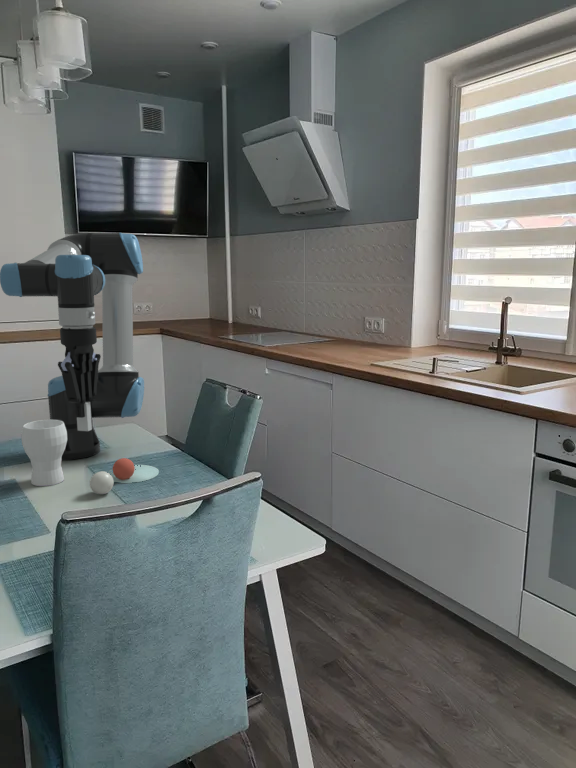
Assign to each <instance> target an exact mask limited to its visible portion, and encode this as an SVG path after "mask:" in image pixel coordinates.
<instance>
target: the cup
mask: <svg viewBox="0 0 576 768" xmlns="http://www.w3.org/2000/svg"><path fill="white" fill-rule="evenodd" d="M21 430H22V431H21V434H20V437H21V445H22V447H23V450H24V452H25V454H26V455H27V457H28V459H29V460H30V464H31V468H32V471H31V481H30V482H31V485H33V486H37V487H46V486H47V487H49V486H54V485H57V484H60V483H61V482H63V481H65V476H64V472H63V468H62V460H61V459H62V455H63V452H64V450H65V447H66V443H67V431H66V428H65V425H64V422H63V421H60V420H50V419H40V420H33V421H31V422H30V421H29V422H27V423H25V424H23V426H22V429H21Z"/></svg>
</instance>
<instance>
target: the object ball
mask: <svg viewBox="0 0 576 768" xmlns="http://www.w3.org/2000/svg"><path fill="white" fill-rule="evenodd" d="M134 465H135V463H134V462H133V461H132V460H131V459H129V458H125V457H121V458H119V459H117V460H116V461H115V462H114V463H113V465H112V469H113V474H114V475H115V477H117V478H118V479H121V480H125V479H128V478H130V477H131V476H132V475H133V473H134V470H135V467H134Z"/></svg>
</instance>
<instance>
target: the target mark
mask: <svg viewBox="0 0 576 768" xmlns="http://www.w3.org/2000/svg"><path fill="white" fill-rule="evenodd" d="M134 465H135V466H134V467H135V469H136V470H134V473H133V475H132V476H131V477H130V478H128V479H125V480H121V479H118V478H117V477H115V475H114V474H113V473H112V472H110V471H112V470H113V468H111V469H109V470H108V471H109V472H110V473H109V472H108V471H107V472H108V473H109V474H111V476H112V477H113V481H114V482H121V483H120V484H133V483H132V482H137V483H142V481H143V482H146V480H147V481H149V480H152V479H154V478H156V477H158V475H159V473H160V470H159V469H158V468H157V467H155V466H152V465H148V464H147V465H146V464H134ZM137 465H138V466H137ZM140 465H141V467H140Z"/></svg>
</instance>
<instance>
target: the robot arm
mask: <svg viewBox="0 0 576 768" xmlns="http://www.w3.org/2000/svg"><path fill="white" fill-rule="evenodd" d="M143 272H144V263H143V255H142V251H141V246H140V243H139V240H138V238H137V236H136V235H135V234H133V233H124V232H123V233H122V232H80V233H79V232H78V233H74V234H70V235H67V236H65V237H62V238H59V239H57V240H55V241H53V242H51V244H49V245H48V247H47V249H46V250H45V251H43V252H42V253H40V254H38V255H37V256H35V257H32V258H31V259H29V260H27V261H26V262H22V263H21V262H19V263H18V262H13V263H10V262H9V263H4V264H3V265H2V266H1V268H0V287H1V290H2V291H3V293H4V294H5V295H6V296H9V297H19V298H22V297H57V305H58V306H57V309H58V313H57V314H58V325H59V326H60V329H59V335H60V337H59V339H60V345H62V346H64V347H65V351H64V357H65V358H64V359H63V360H62V361H58V362H57V367H58V369H59V370H60V372H61V375H59V376H56V377H54V378H52V379H50V380H49V381H48V383H47V399H48V410H49V420H60V421H63V422H64V425H65V428H66V431H67V443H66V447H65V450H64V452H63V455H62V459H61V461H62V460H63V461H64V460H66V461H68V460H69V461H70V460H78V459H85V458H89V457H92V456H94V455H97V454H98V453H99V452H100V451H101V442H100V440H99V437H98V435H97V432H96V429H95V428H94V424H93V419H94V418H97V419H99V418H100V419H102V418H103V419H105V418H110V419H111V418H121V419H123V418H133V417H137V416H138V415H139V414H140V412H141V410H142V407H143V402H144V396H145V379H144V377H142V376H139V370H137V368H136V367H135V366H134V321H133V320H134V319H133V316H134V315H133V314H134V313H133V310H134V309H133V304H134V303H133V286H134V284H136V282H137V281H138V278H139V277H138V275H141V274H143ZM100 293H101V295H102V296H101V299H102V300H101V301H102V303H101V304H102V307H101V308H102V311H101V312H102V321H101V322H102V355H101V354H100V353H95V350H94V347H93V346H94V345H95V344H96V343H97V342H98V341H97V328H96V327H95V326H94V325H95V324H96V312H95V311H96V310H95V296H97V295H98V294H100ZM101 356H102V366H101V368H100V369H99V364H100V362H101Z"/></svg>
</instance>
